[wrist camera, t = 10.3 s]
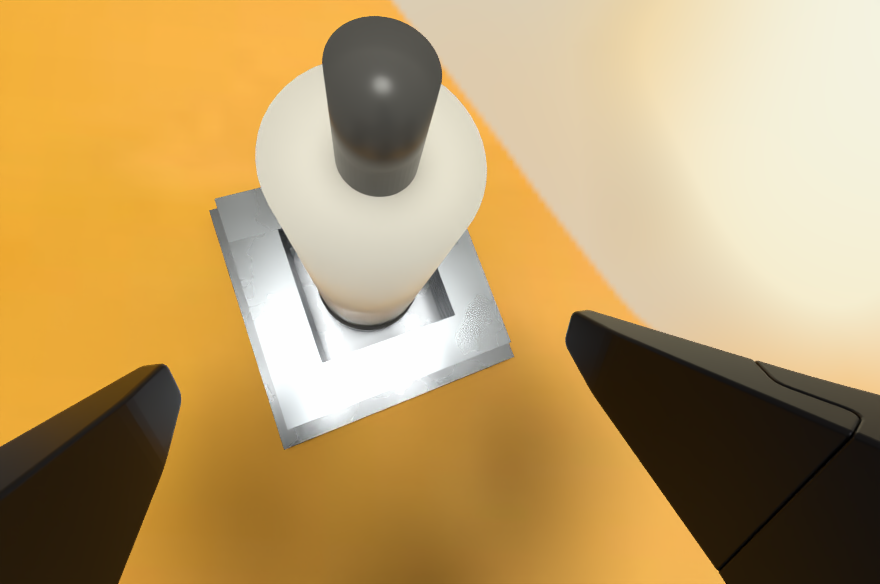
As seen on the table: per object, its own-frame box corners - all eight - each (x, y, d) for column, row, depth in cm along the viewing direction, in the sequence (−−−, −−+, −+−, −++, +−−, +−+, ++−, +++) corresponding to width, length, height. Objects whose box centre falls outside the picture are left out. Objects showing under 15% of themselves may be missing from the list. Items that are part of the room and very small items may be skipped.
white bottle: (412, 333, 20) (551, 241, 5) (318, 332, 19) (174, 218, 5) (413, 246, 21) (535, -41, 6) (323, 241, 20) (216, -107, 5)
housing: (509, 357, 22) (538, 355, 18) (286, 447, 19) (269, 465, 15) (433, 158, 23) (446, 121, 19) (213, 215, 20) (182, 183, 17)
